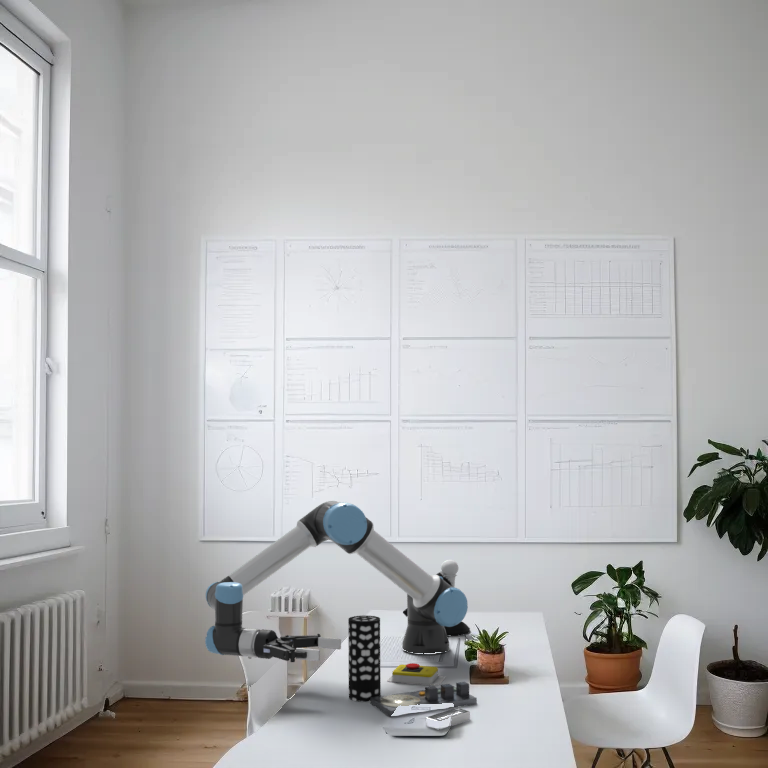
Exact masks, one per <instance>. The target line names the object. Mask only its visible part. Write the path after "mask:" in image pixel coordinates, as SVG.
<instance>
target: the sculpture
mask: <svg viewBox="0 0 768 768" xmlns="http://www.w3.org/2000/svg"><path fill="white" fill-rule="evenodd" d="M440 566H441V567H440V569H441V571H440V572H438V573H436V574H435V575H438V576H440V577H442V578H443V580H444V581H445V582H447V583H448V584H449V585H451V586H452V587H454V588H456V585H455V583H456V582H455V581H456V577H457V576H458V575H457V573H458V571H459V565H458V563H457V562H456V561H455V560H453V559H446V560H445V561H443V562H442V563H441V565H440ZM402 614H404V616H405V617H406V618H408V613H407V608H406V609H404V610H403V611H402ZM444 628H445V631H446V634H447V635H451V636H450V637H458V635H460V636H464V635H463V634H465V635H468V634H470V631H471V628H470V626H468V624H466V623H465V622H463V620H462V621H461V622H460V623H459V624H457V625H455V626H452V627H446V626H444Z"/></svg>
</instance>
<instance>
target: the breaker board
mask: <svg viewBox="0 0 768 768" xmlns="http://www.w3.org/2000/svg"><path fill="white" fill-rule="evenodd" d="M369 702H370V705H372V706H373V707H374V708H376V709H378V710H379V711H381V712H382V713H383V714H385V715H386V716H387V717H389V718H392V717H391V715H392V714H393V713H394V711H395V710H396V708H397V707H398V706H400V705H401V706H409V705H417V704H418V705H420V704H442V703H453V704H454V708H459V707H458V706H461V707H465V706H464V705H468V706H473V705H477V704H478V703H477V702H478V699H477V697H475V696H473V695H471V694H470V684H469V683H468V682H466V681H460V682H459V681H457V682H455V686H454V685H453V684H451V683H446V684H445V683H444V684H440V687H436V685H428V686H424V689H422V690H415V691H409V692H408V691H407V692H401V693H395V694H387V695H381V696H378V697H371V698H370V701H369Z"/></svg>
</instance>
